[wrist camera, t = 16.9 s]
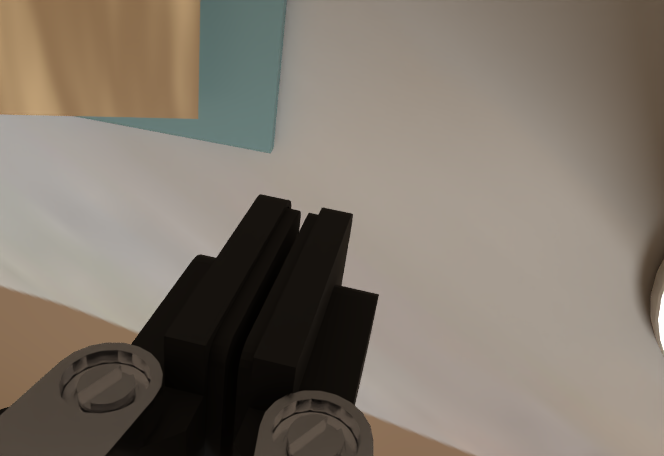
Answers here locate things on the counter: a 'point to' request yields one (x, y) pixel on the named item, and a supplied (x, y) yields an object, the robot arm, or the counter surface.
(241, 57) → the board
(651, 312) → the robot arm
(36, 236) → the counter surface
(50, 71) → the domino
